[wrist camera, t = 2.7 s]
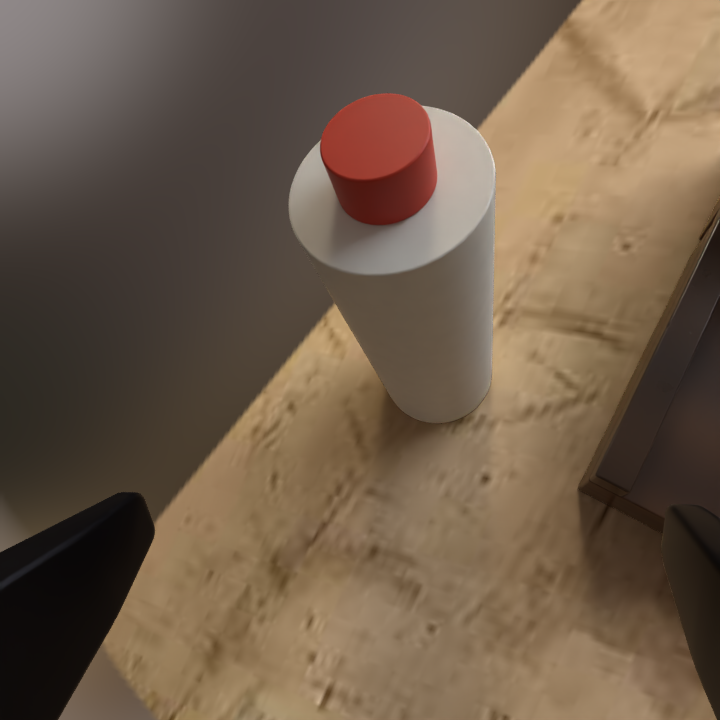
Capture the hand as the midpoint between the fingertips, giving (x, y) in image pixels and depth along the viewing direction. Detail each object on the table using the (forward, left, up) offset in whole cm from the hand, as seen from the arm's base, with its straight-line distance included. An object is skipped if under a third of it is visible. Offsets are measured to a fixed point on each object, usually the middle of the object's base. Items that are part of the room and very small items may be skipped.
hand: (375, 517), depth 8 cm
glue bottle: (+7, +2, -13) cm, 16 cm away
